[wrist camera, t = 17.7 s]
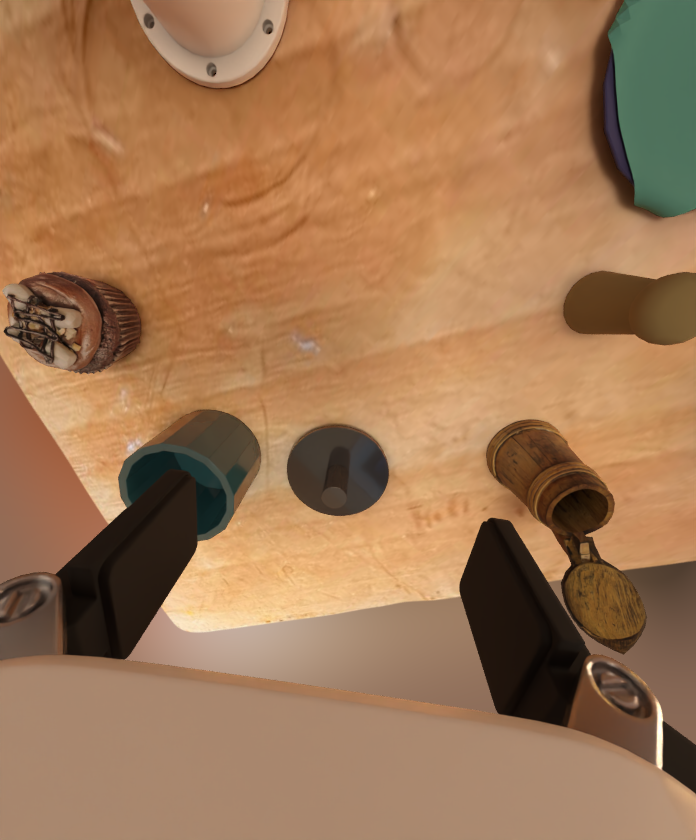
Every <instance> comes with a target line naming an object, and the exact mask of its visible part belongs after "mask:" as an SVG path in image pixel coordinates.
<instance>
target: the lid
mask: <svg viewBox="0 0 696 840" xmlns="http://www.w3.org/2000/svg"><path fill="white" fill-rule="evenodd" d="M287 475H288V480H289V483H290V486H291V488H292V490H293V491H294V493H295V494H296V496H297V497H298V498H299V499H300V500H301V501H302V502H303V503H304V504H306V505H307V506H308V507H310V508H312V509H313V510H316V511H318V512H321V513H324V514H328V515H334V516H346V515H352V514H356V513H359V512H362V511H364V510H366V509H367V508H369V507H370V506H372V505H373V504H374V503H375V502H377V500H378V499H379V498H380V497H381V496H382V494H383V493H384V491H385V488H386V486H387V483H388V477H389V469H388V463H387V459H386V456H385V454H384V452H383V450H382V449H381V447H380V446H379V445H378V444H377V443H376V441H375V440H373V439H372V438H371V437H370V436H368V435H367V434H365V433H363V432H361V431H359V430H357V429H354V428H351V427H346V426H327V427H322V428H318V429H316V430H314V431H311V432H310V433H308V434H306V435H305V436H304V437H302V438H301V439H300V440H299V441H298V442H297V444H296V445H295V446H294V448H293V450H292V452H291V454H290V456H289V459H288V464H287Z"/></svg>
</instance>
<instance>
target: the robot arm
mask: <svg viewBox="0 0 696 840" xmlns="http://www.w3.org/2000/svg"><path fill="white" fill-rule="evenodd" d="M288 2H289V0H131V3H132V6H133V9H134V11H135V14H136V16H137V18H138V21H139V23H140V25H141V27H142V29H143V30H144V32H145V34H146V36H147V37H148V39H149V41H150V42H151V44H152V45H153V46H154V47H155V49H156V50H157V51H158V52H159V54H160V55H161V56H162V57H163V58H164V59H165V60H166V61H167V63H168V64H169V65H170V66H171V67H172V68H173V69H175V70H176V71H177V72H179V73H180V74H181V75H182V76H184V77H185V78H187V79H189V80H191V81H193V82H195V83H197V84H199V85H203V86H207V87H211V88H228V87H232V86H236V85H239V84H242V83H243V82H245V81H247V80H249V79H250V78H252V77H254V76H255V75H256V74H257V73H258V72H259V71H260V70H261V69H262V68H263V67H264V66H265V65H266V63H267V62H268V60H269V59H270V58H271V56H272V55H273V53H274V51H275V49H276V47H277V45H278V43H279V41H280V38H281V36H282V32H283V29H284V25H285V22H286V17H287V9H288ZM270 31H272V33H271V34H268V33H269V32H270ZM214 73H216V75H215V76H213V74H214ZM196 548H197V507H196V479H195V477H191V474H190V472H188V471H182V470H175V469H169V470H168V471H167V472H166V473H164V474H163V475H162V476H161V477H160V478H159V479H158V480H157V481H156V482H155V483H154V484H153V485H152V486H151V487H150V488H148V489H147V490H146V491H145V492H144V493H143V494H142V495H141V496H140V497H139V498H138V499H137V500H136V501H135V502H134V503H132V504H131V505H130V506H129V507H128V508H127V509H125V510H124V511H123V512H122V513H121V514H120V515H119V516H117V517H116V518H115V519H114V520H113V521H112V522H111V523H110V524H109V525H108V526H107V527H106V528H105V529H104V530H102V531H101V532H100V533H99V534H98V535H97V536H96V537H95V538H94V539H93V540H92V541H91V542H90V543H89V544H88V545H87V546H85V547H84V548H83V549H82V550H81V551H80V552H79V553H78V554H77V555H76V556H75V557H74V558H72V559H71V560H70V561H69V562H68V563H67V564H66V565H65V566H64V567H63V568H62V569H61V570H60V571H59V572H57V573H56V574H51V573H47V572H38V573H30V574H25V575H21V576H18V577H15V578H13V579H10V580H7V581H6V582H4V583H2V584H0V840H696V745H695V744H693V743H692V742H691V741H690V740H688V739H687V738H686V737H684V736H683V735H682V734H680V733H679V732H678V731H676V730H675V729H674V728H672V727H671V726H669V725H668V724H667V723H665V722H664V721H663V716H662V711H661V707H660V705H659V703H658V701H657V699H656V697H655V695H654V694H653V692H652V691H651V690H650V688H649V687H648V686H647V685H646V684H645V682H644V681H643V680H642V679H641V678H639V677H638V676H637V675H636V674H635V673H634V672H633V671H631V670H630V669H629V668H627V667H626V666H625V665H623V664H621V663H620V662H618V661H616V660H614V659H613V658H610V657H607V656H604V655H597V654H593V655H591V654H590V653H589V651H588V649H587V648H586V646H585V642H584V640H583V639H582V637H581V636H580V634H579V632H578V631H577V629H576V627H575V626H574V624H573V622H572V621H571V619H570V618H569V616H568V614H567V613H566V611H565V609H564V608H563V606H562V605H561V603H560V601H559V600H558V598H557V596H556V595H555V593H554V592H553V590H552V588H551V587H550V585H549V583H548V582H547V580H546V578H545V577H544V575H543V574H542V572H541V570H540V569H539V567H538V565H537V564H536V562H535V561H534V559H533V557H532V556H531V554H530V552H529V551H528V549H527V548H526V546H525V544H524V543H523V541H522V539H521V538H520V536H519V535H518V533H517V531H516V530H515V528H514V526H513V525H512V523H511V522H510V521H508V520H503V519H496V518H489V519H488V521H487V522H486V521H484V522H483V523H482V524H481V527H480V530H479V532H478V535H477V538H476V540H475V543H474V546H473V549H472V551H471V554H470V557H469V559H468V562H467V565H466V567H465V570H464V573H463V575H462V578H461V581H460V595H461V598H462V602H463V604H464V608H465V611H466V615H467V618H468V621H469V624H470V628H471V631H472V634H473V637H474V641H475V644H476V647H477V650H478V654H479V657H480V660H481V663H482V667H483V670H484V673H485V676H486V680H487V683H488V686H489V689H490V693H491V696H492V699H493V702H494V706H495V708H496V710H497V712H498V713H499V714H495V713H489V712H483V711H477V710H471V709H464V708H458V707H451V706H444V705H438V704H431V703H425V702H418V701H411V700H405V699H399V698H392V697H385V696H378V695H372V694H365V693H359V692H352V691H345V690H338V689H331V688H325V687H318V686H311V685H304V684H297V683H290V682H283V681H276V680H269V679H262V678H255V677H248V676H241V675H234V674H226V673H219V672H213V671H205V670H198V669H191V668H184V667H177V666H170V665H162V664H153V663H146V662H137V661H129V660H124V659H126V658H127V657H128V656H129V655H130V654H131V652H132V650H133V649H134V647H135V646H136V644H137V643H138V641H139V640H140V638H141V636H142V635H143V633H144V632H145V630H146V629H147V627H148V625H149V624H150V622H151V620H152V619H153V618H154V616H155V615H156V613H157V611H158V609H159V608H160V607H161V605H162V604H163V602H164V600H165V599H166V597H167V596H168V594H169V593H170V591H171V589H172V588H173V586H174V585H175V583H176V582H177V580H178V578H179V577H180V575H181V574H182V572H183V571H184V569H185V567H186V566H187V564H188V563H189V561H190V560H191V558H192V556H193V555H194V553H195V551H196ZM121 659H123V660H121Z"/></svg>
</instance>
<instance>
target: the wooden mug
mask: <svg viewBox="0 0 696 840" xmlns="http://www.w3.org/2000/svg"><path fill="white" fill-rule="evenodd" d="M487 463H488V467H489V470H490V472H491V473H492V474H493V476H494V477H495V478H496V480H497V481H498V482H499V483H500V484H502V485H503V486H504V487H506V488H507V489H509V490H510V491H512V492H513V493H514V494H515V495H516V496H517V497H518V498H519V499H520V500H521V501H522V502H523V503H524V504H525V505H526V506H527V507H528V509H529V511H530V512H531V514H532V515H533V517H534V518H536V519H537V520H538V521H539V522H540V523H542V524H544V525H545V526H547V527H549V528H550V529H551V530H552V532H553V533H554V535H555V537H556V539H557V541H558V542H559V544H560V545H561V547H562V548H563V550H564V551H565V552H566V554H567V555H568V557H569V559H570V562H571V566H570V567H569V568H568V570H567V571H566V572H565V575H564V577H563V579H562V582H561V586H562V594H563V598H564V602H565V605H566V607H567V610H568V611H569V613H570V615H571V617H572V619H573V620H574V621H575V622H576V624H577V625H578V626H579V627H580V629H582V630H583V631H584V632H585V633H586V634H587V635H588V636H590V637H591V638H592V639H594V640H596V641H597V642H599V643H601V644H603V645H604V646H606V647H608V648H610V649H612V650H614V651H617V652H619V653H622V654H625V653H626V652H627V651H628V650H629V649H630V648H631V647H632V646H634V644H635V643H636V642H637V640H638V639H639V637H640V636H641V634H642V632H643V630H644V628H645V624H646V618H647V616H646V613H645V609H644V605H643V602H642V600H641V598H640V596H639V595H638V592H637V591H636V589H635V587H634V586H633V584H632V582H631V581H630V580H629V579H628V578H627V576H626V575H625V574H624V573H622V572H621V571H620V570H618V569H617V568H616V567H614V566H612V565H611V564H609V563H607V562H606V561H604V560H603V559H601V557H600V555H599V553H598V551H597V549H596V547H595V544H594V541H593V538H592V537H586V536H585V535H586V534H589V533H591V532H593V531H595V530H597V529H600V528H601V527H603V526H604V525H606V524H607V523H608V522H609V520H610V519H611V517H612V515H613V512H614V505H615V502H614V499H613V496H612V494H611V493H610V492H609V491H608V488H607V485H606V483H605V482H604V481H603V480H602V479H601V478H600V477H599V476H598V475H597V473H596V472H595V471H594V470H593V469H591V468H590V467H588V466H587V465H585V464H584V463H583V462H582V461H581V460H580V459H579V458H578V457H577V456H576V454H575V453H574V452H573V451H572V450H571V449H570V448H569V445H568V443H567V441H566V440H565V439H564V438H563V436H562V435H561V434H560V433H559V431H558V430H557V429H556V428H555V427H553V426H552V425H551V424H549V423H546V422H542V421H538V420H526V421H520V422H517V423H514V424H512V425H509V426H507V427H506V428H504V429H503V430H502V431H500V432H499V433H498V434H497V435H496V436H495V437H494V438H493V439H492V441H491V443H490V445H489V447H488V450H487Z"/></svg>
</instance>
